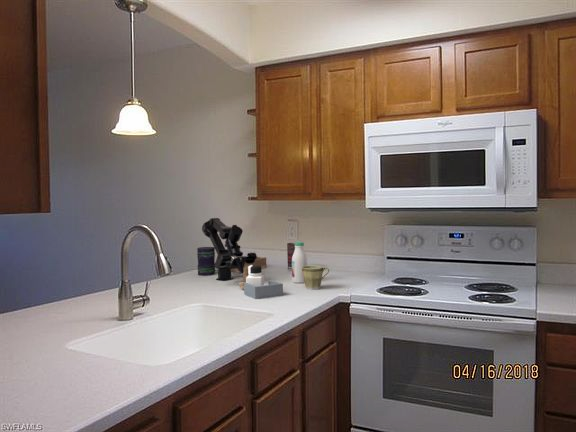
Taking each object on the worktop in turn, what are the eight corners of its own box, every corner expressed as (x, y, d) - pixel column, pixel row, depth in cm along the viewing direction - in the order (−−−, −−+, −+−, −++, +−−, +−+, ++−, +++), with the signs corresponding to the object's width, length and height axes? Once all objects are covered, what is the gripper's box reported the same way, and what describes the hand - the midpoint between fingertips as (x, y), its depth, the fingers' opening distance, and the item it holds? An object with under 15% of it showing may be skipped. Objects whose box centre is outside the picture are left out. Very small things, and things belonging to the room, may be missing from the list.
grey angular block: (244, 294, 202) (243, 283, 202) (270, 290, 209) (270, 279, 209) (255, 298, 193) (255, 287, 192) (282, 295, 199) (282, 283, 199)
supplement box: (303, 270, 264) (303, 243, 264) (298, 271, 261) (297, 243, 260) (292, 269, 270) (292, 242, 270) (287, 270, 267) (286, 243, 266)
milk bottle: (309, 281, 231) (309, 241, 230) (303, 283, 224) (303, 243, 223) (295, 280, 234) (295, 241, 234) (289, 282, 227) (288, 242, 227)
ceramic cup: (305, 291, 207) (304, 269, 207) (300, 286, 217) (299, 265, 216) (332, 289, 210) (332, 267, 209) (326, 285, 220) (326, 264, 219)
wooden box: (224, 271, 267) (223, 260, 267) (249, 265, 286) (249, 256, 286) (242, 273, 259) (242, 262, 259) (267, 267, 278) (267, 257, 278)
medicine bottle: (264, 289, 211) (263, 264, 211) (261, 293, 204) (261, 266, 204) (249, 289, 212) (248, 264, 211) (246, 293, 205) (245, 266, 204)
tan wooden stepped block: (238, 287, 214) (238, 267, 214) (253, 285, 218) (253, 266, 218) (243, 289, 210) (242, 269, 209) (258, 287, 214) (258, 267, 213)
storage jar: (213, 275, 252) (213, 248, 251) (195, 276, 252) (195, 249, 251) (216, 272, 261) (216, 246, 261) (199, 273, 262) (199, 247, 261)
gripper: (245, 256, 238) (255, 280, 229) (211, 259, 228) (220, 285, 219) (251, 242, 231) (262, 267, 222) (217, 245, 221) (226, 271, 212)
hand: (243, 273), depth 219 cm, fingers closed
